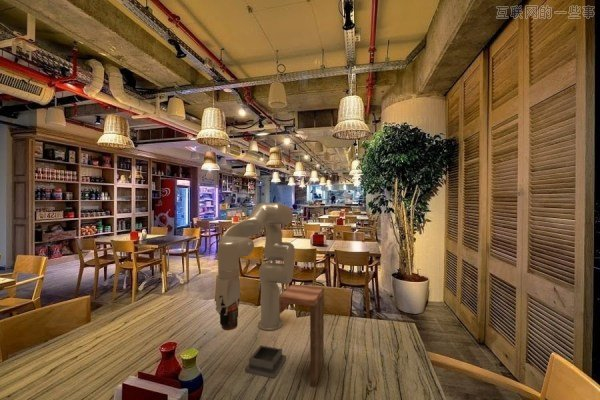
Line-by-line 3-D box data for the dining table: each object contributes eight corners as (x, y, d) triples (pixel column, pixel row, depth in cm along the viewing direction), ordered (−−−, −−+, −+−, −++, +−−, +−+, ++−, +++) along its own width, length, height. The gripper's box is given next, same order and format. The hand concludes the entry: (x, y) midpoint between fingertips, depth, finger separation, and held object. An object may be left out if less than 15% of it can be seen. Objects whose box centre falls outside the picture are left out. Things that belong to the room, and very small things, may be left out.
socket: (259, 354, 113) (259, 343, 113) (286, 359, 109) (286, 348, 109) (244, 371, 101) (244, 360, 101) (274, 378, 98) (274, 366, 98)
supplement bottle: (239, 323, 105) (238, 294, 105) (235, 331, 100) (235, 300, 99) (223, 323, 105) (223, 294, 105) (219, 331, 99) (219, 300, 99)
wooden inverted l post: (292, 357, 111) (292, 284, 110) (323, 363, 107) (323, 287, 106) (279, 379, 97) (279, 296, 97) (314, 387, 93) (314, 300, 93)
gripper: (232, 266, 111) (233, 310, 112) (205, 279, 95) (206, 330, 95) (248, 268, 109) (249, 312, 109) (224, 281, 92) (225, 333, 93)
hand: (229, 320), depth 102 cm, fingers closed on supplement bottle, 6 cm apart
